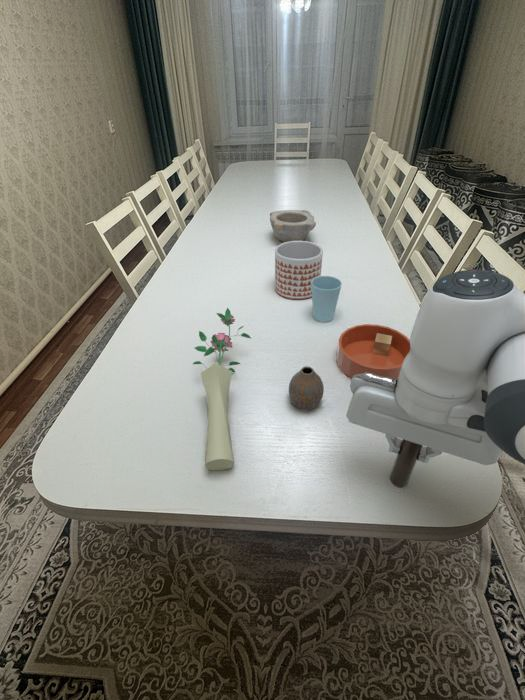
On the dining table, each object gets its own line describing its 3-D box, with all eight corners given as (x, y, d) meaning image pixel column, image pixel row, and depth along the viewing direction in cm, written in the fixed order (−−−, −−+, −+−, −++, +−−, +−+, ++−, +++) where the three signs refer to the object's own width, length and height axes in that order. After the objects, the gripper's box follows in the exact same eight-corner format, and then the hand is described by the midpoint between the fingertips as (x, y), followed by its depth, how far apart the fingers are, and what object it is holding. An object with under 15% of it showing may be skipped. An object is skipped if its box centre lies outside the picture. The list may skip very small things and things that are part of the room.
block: (389, 347, 86) (392, 335, 83) (387, 356, 83) (390, 344, 81) (374, 344, 87) (376, 332, 84) (372, 353, 84) (374, 341, 82)
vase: (325, 394, 75) (328, 362, 69) (318, 418, 70) (321, 386, 64) (293, 387, 77) (294, 355, 71) (284, 410, 72) (284, 378, 66)
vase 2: (284, 303, 104) (285, 262, 96) (268, 283, 114) (268, 244, 106) (327, 295, 107) (331, 254, 99) (308, 275, 117) (310, 237, 109)
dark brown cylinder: (408, 476, 60) (429, 422, 52) (406, 489, 58) (427, 436, 50) (391, 470, 61) (409, 416, 53) (388, 483, 59) (406, 430, 51)
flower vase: (207, 486, 67) (205, 344, 89) (269, 472, 65) (252, 330, 87) (176, 466, 58) (183, 313, 80) (247, 449, 56) (234, 297, 78)
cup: (307, 323, 96) (309, 288, 89) (310, 308, 101) (312, 274, 95) (336, 326, 94) (340, 291, 88) (337, 310, 100) (341, 276, 94)
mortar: (316, 246, 136) (317, 222, 130) (271, 248, 135) (271, 224, 130) (309, 231, 149) (310, 208, 143) (268, 232, 148) (268, 209, 143)
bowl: (413, 350, 85) (418, 333, 82) (404, 395, 74) (409, 377, 71) (346, 335, 91) (348, 318, 88) (328, 374, 80) (330, 357, 76)
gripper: (347, 383, 48) (336, 447, 57) (524, 432, 41) (481, 496, 50) (358, 356, 52) (346, 418, 61) (519, 396, 45) (480, 460, 54)
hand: (408, 454), depth 55 cm, fingers closed on dark brown cylinder, 3 cm apart
